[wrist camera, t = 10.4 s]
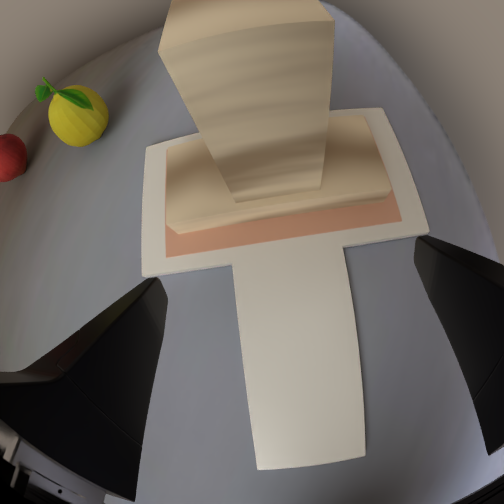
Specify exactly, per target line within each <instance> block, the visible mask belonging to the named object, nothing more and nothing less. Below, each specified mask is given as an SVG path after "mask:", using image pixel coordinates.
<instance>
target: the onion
mask: <svg viewBox="0 0 504 504" xmlns="http://www.w3.org/2000/svg"><path fill="white" fill-rule="evenodd" d="M26 164H27V151H26V147H25V144H24V143H23V142H22V140H21V139H20V138H19V137H17V136H15V135H13V134H4V135H0V182H7V181H10V180H13V179H14V178H16V177H17V176H19V175H22V174H23V173H24V172H25V171H26Z"/></svg>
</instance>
